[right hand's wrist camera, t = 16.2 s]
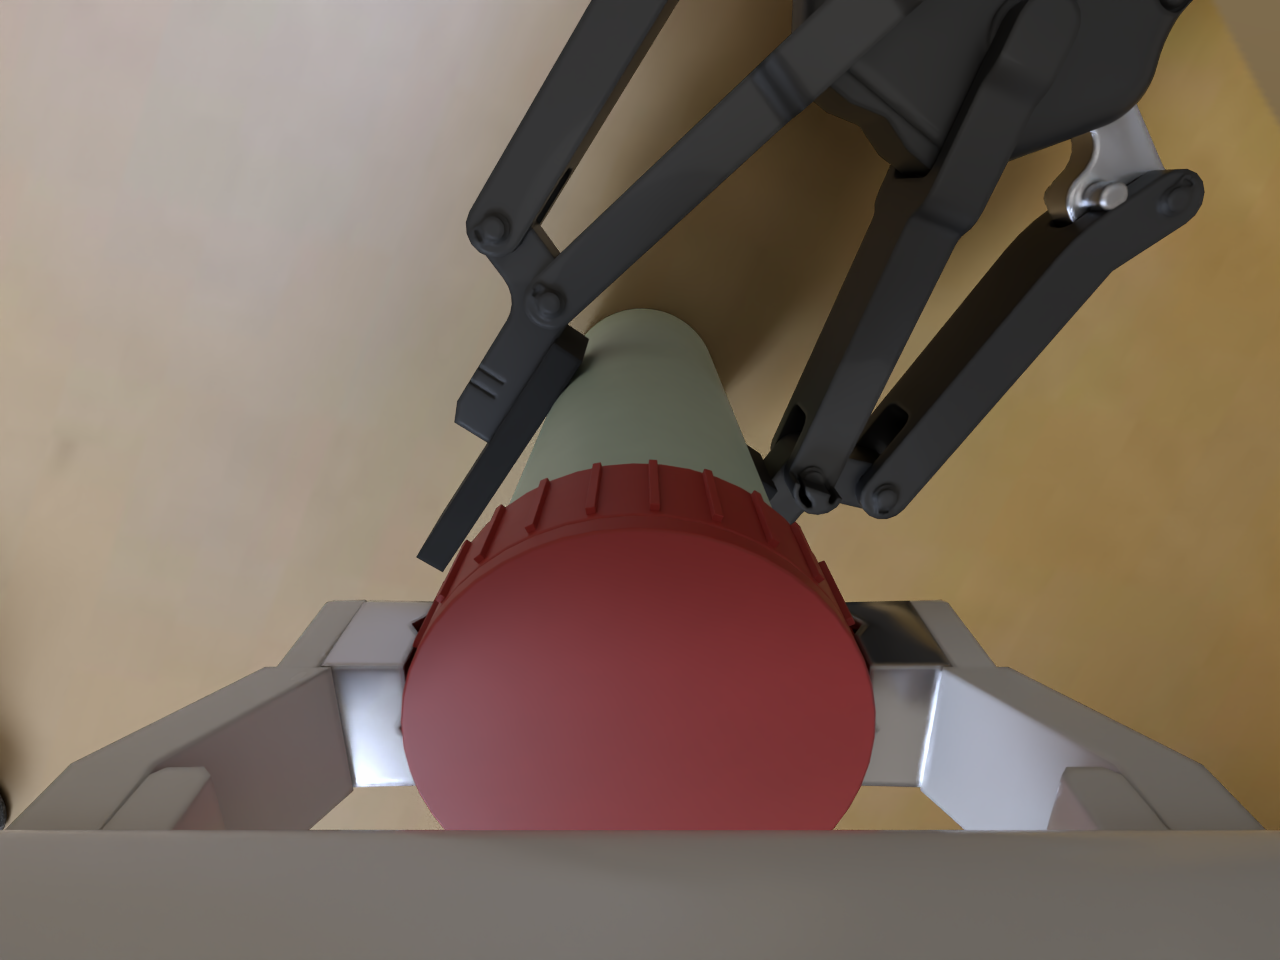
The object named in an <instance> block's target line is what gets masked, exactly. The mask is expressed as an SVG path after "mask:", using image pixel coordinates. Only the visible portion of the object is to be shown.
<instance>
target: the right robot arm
mask: <svg viewBox="0 0 1280 960" xmlns="http://www.w3.org/2000/svg"><path fill="white" fill-rule="evenodd" d="M845 603H846V605H847V607H848V609H849V611H850V613H851V615H852V617H853V619H854V621H855V624H853V625H851V626H849V627H851V628H852V630H853V632H854V634H855V635H854V639H855V641H856V643H857V645H858V647H859V649H860V651H861V653H862V655H863V658H864V660H865V662H866V666H867V669H868V672H869V676H870V679H871V682H872V686H873V693H874V701H875V708H876V721H875V739H874V744H873V749H872V754H871V759H870V763H869V766H868V769H867V771H866V774H865V777H864V780H863V782H862V785H861V786H898V787H921V789H920V790H921V791H922V792H923V793H924V794H925V795H926V796H928V797H929V798H930V799H931V800H932V801H933V802H934V803H935V804H936V805H938V806H939V807H940V808H941V809H942V810H943V811H944V812H945V813H947V814H948V815H949V816H950V817H951V818H952V819H953V820H954V821H955V822H957V823H958V824H959V825H960V826H961V827H962V828H963V829H964V830H309V829H310V828H312V827H313V826H314V825H315V824H316V823H317V822H318V821H320V820H321V819H322V818H323V817H324V816H325V815H326V814H327V813H329V812H330V811H331V810H332V809H333V808H334V807H335V806H336V805H338V804H339V803H340V802H341V801H342V800H343V799H344V798H345V797H347V796H348V795H349V794H350V793H351V792H352V791H353V787H375V786H411V785H416V784H415V782H414V780H413V777H412V775H411V773H410V770H409V766H408V762H407V759H406V755H405V751H404V747H403V738H402V728H401V709H402V695H403V690H404V686H405V682H406V678H407V673H408V669H409V667H410V665H411V662H412V660H413V657H414V655H415V652H416V650H417V648H415V647H413V643H414V640H415V638H416V636H417V634H418V632H419V630H420V628H421V626H422V624H423V622H424V620H425V618H426V616H427V614H428V612H429V610H430V608H431V606H432V604H433V602H423V601H371V600H370V601H366V600H334V601H330V602H327V603H326V604H325V605H324V606H323V607H322V609H321V610H320V611H319V612H318V614H317V615H316V616H315V618H314V619H313V620H312V622H311V623H310V624H309V626H308V627H307V628H306V629H305V631H304V632H303V633H302V635H301V636H300V637H299V639H298V640H297V641H296V642H295V644H294V645H293V646H292V648H291V649H290V650H289V652H288V653H287V654H286V655H285V657H284V658H283V659H282V661H281V662H280V663H279V665H278V666H277V667H264V668H262V669H260V670H258V671H256V672H254V673H252V674H250V675H248V676H246V677H244V678H242V679H240V680H238V681H236V682H234V683H232V684H230V685H228V686H226V687H224V688H222V689H220V690H218V691H216V692H214V693H212V694H210V695H208V696H206V697H204V698H202V699H200V700H198V701H196V702H194V703H192V704H190V705H188V706H186V707H184V708H182V709H180V710H178V711H176V712H174V713H172V714H170V715H168V716H166V717H164V718H162V719H160V720H158V721H156V722H154V723H152V724H150V725H148V726H146V727H144V728H142V729H140V730H138V731H136V732H134V733H132V734H130V735H128V736H126V737H124V738H122V739H120V740H118V741H116V742H114V743H112V744H110V745H108V746H106V747H104V748H102V749H100V750H98V751H96V752H93V753H91V754H89V755H87V756H85V757H83V758H81V759H79V760H77V761H75V762H73V763H71V764H70V765H69V766H68V767H67V768H66V769H65V770H64V771H63V772H62V773H61V774H60V775H59V776H58V777H57V778H56V779H55V780H54V781H53V782H52V783H51V784H50V785H49V786H48V787H47V788H46V789H45V790H44V791H43V792H42V793H41V794H40V795H39V796H38V797H37V798H36V799H35V800H34V801H33V802H32V803H31V804H30V805H29V806H28V807H27V808H26V809H25V810H24V811H23V812H22V813H21V814H20V815H19V816H18V817H17V818H16V819H15V820H14V821H13V822H12V823H11V824H10V825H9V826H8V827H7V828H6V829H5V830H0V960H1280V830H1266V829H1265V828H1264V827H1263V826H1262V825H1261V824H1260V823H1259V822H1258V821H1257V820H1256V819H1255V818H1254V817H1253V816H1252V815H1251V814H1250V813H1249V812H1248V811H1247V810H1246V809H1245V808H1244V807H1243V806H1242V805H1241V804H1240V803H1239V802H1238V801H1237V800H1236V799H1235V798H1234V797H1233V796H1232V795H1231V794H1230V793H1229V792H1228V790H1227V789H1226V788H1225V787H1224V786H1223V785H1222V784H1221V783H1220V782H1219V781H1218V780H1217V779H1216V778H1215V777H1214V776H1213V775H1212V774H1211V773H1210V772H1209V771H1208V770H1207V769H1206V768H1205V767H1204V766H1203V765H1202V764H1200V763H1198V762H1196V761H1194V760H1192V759H1190V758H1188V757H1186V756H1184V755H1182V754H1180V753H1178V752H1176V751H1174V750H1172V749H1170V748H1168V747H1166V746H1164V745H1162V744H1160V743H1158V742H1156V741H1154V740H1152V739H1150V738H1148V737H1146V736H1144V735H1142V734H1140V733H1138V732H1136V731H1134V730H1132V729H1130V728H1128V727H1126V726H1124V725H1122V724H1120V723H1118V722H1116V721H1114V720H1112V719H1110V718H1108V717H1106V716H1104V715H1103V714H1101V713H1099V712H1097V711H1095V710H1093V709H1091V708H1089V707H1087V706H1085V705H1083V704H1081V703H1079V702H1077V701H1075V700H1073V699H1071V698H1069V697H1067V696H1065V695H1063V694H1061V693H1059V692H1057V691H1055V690H1053V689H1051V688H1049V687H1047V686H1045V685H1043V684H1041V683H1039V682H1037V681H1035V680H1033V679H1031V678H1029V677H1027V676H1025V675H1023V674H1021V673H1019V672H1017V671H1015V670H1013V669H1011V668H1009V667H996V665H995V664H994V663H993V661H992V660H991V659H990V657H989V656H988V655H987V653H986V652H985V651H984V650H983V648H982V647H981V646H980V644H979V643H978V642H977V640H976V639H975V638H974V636H973V635H972V634H971V632H970V631H969V630H968V628H967V627H966V626H965V625H964V623H963V622H962V621H961V619H960V618H959V617H958V615H957V614H956V613H955V611H954V610H953V609H952V607H951V606H950V605H949V603H947V602H945V601H943V600H919V601H880V602H845Z"/></svg>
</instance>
